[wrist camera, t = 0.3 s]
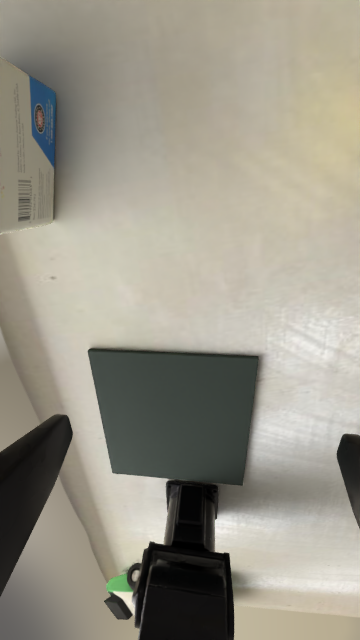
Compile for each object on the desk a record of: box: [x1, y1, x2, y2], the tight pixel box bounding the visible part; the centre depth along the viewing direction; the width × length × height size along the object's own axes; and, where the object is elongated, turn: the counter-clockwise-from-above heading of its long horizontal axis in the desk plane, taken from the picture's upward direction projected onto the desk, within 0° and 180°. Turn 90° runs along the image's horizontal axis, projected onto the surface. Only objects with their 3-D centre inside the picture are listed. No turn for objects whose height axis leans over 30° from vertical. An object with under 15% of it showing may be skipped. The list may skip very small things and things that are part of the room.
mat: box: [88, 349, 259, 486], centre depth 28 cm, size 18×16×1 cm
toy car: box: [104, 563, 141, 620], centre depth 42 cm, size 10×19×5 cm, turn 103°
